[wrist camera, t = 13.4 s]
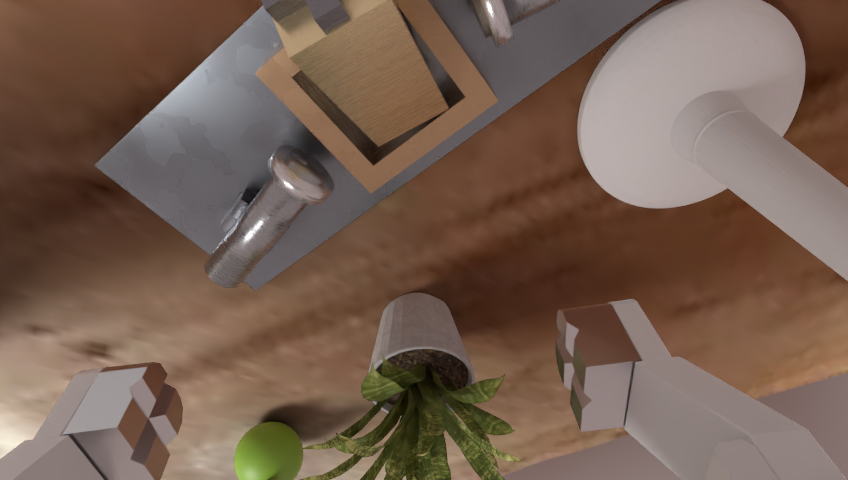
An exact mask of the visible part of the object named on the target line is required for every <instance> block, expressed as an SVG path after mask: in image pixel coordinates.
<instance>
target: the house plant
mask: <svg viewBox="0 0 848 480" xmlns="http://www.w3.org/2000/svg"><path fill="white" fill-rule="evenodd" d="M504 376H505V374H504V375H503V376H502V377H501V378H497V379H487V380H483V381H480V382H477V383H475V375H474V371H473V368H472V365H471V363H470V360H469V358H468V355H467V353H466V350H465V348H464V345H463V343H462V340H461V338H460V335H459V333H458V330H457V327H456V325H455V322H454V320H453V317H452V315H451V312H450V310H449V308H448V306H447V305H446V304H445V302H443V301H442V300H440V299H438V298H436V297H434V296H431V295H429V294H425V293H409V294H405V295H402V296H400V297H398V298H395V299H394V300H393V301H391V302H390V303H389V304H388V305H387V307H386V308H385V309H384V312H383V315H382V318H381V322H380V326H379V331H378V335H377V339H376V343H375V347H374V351H373V356H372V360H371V364H370V368H369V372H368V375H367V376H366V378H365V380H364V381H363V383H362V385H361V393H362V395H363V397H364V398H365V399H367V400H369V401H373V402H374V403H375V406H374V407H373V408H372V409H371V410H370V411H369V412H368V413H367V414H366V415H365V416H363V417H362V418H361V419H360V420H359V421H357V422H356V423H355V424H354V425H352V426H351V427H350V428H348V429H347V430H345V431H344V432H342V433H340V434H339V435H338V434H337V433H336V435H337V436H335V437H334V438H332V439H331V440H329V441H327V440H326V441H327V442H325V443H322V444H316V445H311V446H308V447H305V448H303V449H327V448H332V447H335V448H336V449H338V450H339V451H342V452H345V453H351V454H354V453H355V454H354V455H353V456H352V457H351V458H350V459H348V460H347V461H345V462H344V463H342V464H341V465H339V466H338V467H336V468H334V469H333V470H331V471H329V472H327V473H325V474H323V475H318V476H311V477H307V478H304V479H300V480H330V479H332V478H335V477H337V476H340V475H341V474H343V473H344V472H346V471H348V470H349V469H350V468H352V467H353V466H354V465H355V464H356V463H357V462H358V461H359V460H360V459H361V458H362V457H369V456H373V455H374V454H376V453H377V452H378V451H379V450H380V449H381V448H383V447H385V448H384V449H383V451H382V452H381V454H380V456H379V457H378V459H377V460H376V461H375V462H374V464H373V465H372V466H371V468H370V469H369V470H368V471H367V472H366V474H365V475H364V476H363V477H362V478H361V479H360V480H374V479H375V478H376V476H377V475H378V473H379V471H380V470H381V468H382V467H383V465H384V464H385V462H386V461H387V462H386V465H385V470H386V473H387V474H386V476H385V478H384V480H402V479H403V477H404V476H406V479H407V480H451V474H450V469H449V466H448V463H447V451H446V443H445V438H444V434H443V432H444V431H445V429H446V431H447V432H448V433H449V435H450V436H451V437H452V439H453V440H454V441H455V442H456V444H457V445H458V446H459V447H460V449H461V451H462V452H463V454H464V456H465V457H466V459H467V460H468V462H469V463H470V465H471V466H472V467H473V469H474V470H475V472H476V473H477V474H478V475H479V477H480V478H481V479H482V480H505V479H504V478H503V477H502V476H501V475H500V474H499V473H498V471H497V470H496V469H495V468H494V466H495V467H497V468H498V465H497V461H496V459H495V457H494V456H496V457H498V458H500V459H503V460H506V461H522V460H519V459H517V458H516V457H514V456H512V455H510V454H506V453H503V452H501V451H499V450H498V449H497V448H495V447H494V446H493V445H491V444H490V441H489V438H488V437H487V435H486V433H487V434H492V435H505V434H508V433H512V432H513V431H515V430H513V429H512V428H511V426H510V425H509V424H508V423H506V422H505V421H503V420H501V419H500V418H498V417H496V416H494V415H492V414H490V413H487V412H485V411H483V410H481V409H479V408H478V407H476V406H474V405H472V404H471V403H482V402H486V401H488V400H490V399H491V398H492V397H493V396H494V395H495V393H496V392H497V390H498V388H499V386H500V384H501V382H502V380H503V378H504ZM380 409H381V410H383V411H385V412H386V413H388V414H387V416H386V417H385V418H384V420H383V421H382V423H381V424H380V425H379V426H378V427H376V428H375V429H374V430H373V431H372V432H370V433H368V434H366V435H365V436H363V437H361V438H357V439H353V440H352V439H350V438H351V437H353V436H354V435H355V434H357V433H358V432H359V431H360V430H362V429H363V427H364V426H365V425H366V424H367V423H368V422H369V421H370V420H371V419H372V418H373V417H374V416H375V415H376V414H377V413H378V412H379V410H380ZM453 410H454V412H455V413H456V414H457V415H458V416H459V417H460V418H461V419H462V420H463V422H464V423H465V424H466V426H467V427H468V428H469V430H470V431H469V430H468V429H467V428H466V427H465V426H464V425H463V424H462V423H461V421H460V420H459V419H458V418H457V417H456V416H455V415H454V414H453V412H452V411H453ZM399 418H401V419H400V423H399V425H398V426H397V428H396V429H395V431H394V432H393V434H392V435H391V436H390V438H389V439H388V440H387V441H386V442H385V443H384V444H383V446H378V447H372V446H374V445H375V444H376V443H378V442H379V441H381V440H382V439H383V438H384V437H385V436H386V435H387V434H388V433H389V432H390V431H391V429H392V428H393V427H394V426H395V425H396V424H397V422H398V420H399ZM325 439H326V438H325ZM481 448H482V449H483V451H484V452H485V454H486V455H485V454H484V453H483V451H482V450H481ZM486 456H487V457H488V458H487V457H486ZM488 459H489V460H490V461H489V460H488ZM491 463H492V464H493V465H494V466H493V465H492V464H491ZM498 469H499V468H498Z"/></svg>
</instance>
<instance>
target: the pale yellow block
mask: <svg viewBox="0 0 848 480" xmlns="http://www.w3.org/2000/svg"><path fill="white" fill-rule="evenodd" d="M261 1H262V4H263V6H264V9H265V10H266V11H267V12H268V13H269V14H270V15H271V17H272V18H273V21H274V23H275V26H276V28H277V30H278V33H279V35H280V38H281V40H282V42H283V45H284V47H285V50H286V52H287V55H288V57H289V59H290V60H291V61H292V62H293V63H294V64H295V65H296V66H297V67H298V68H299V69H300V70H302V71H303V72H304V73H305V74H306V75H307V76H308V77H309V78H310V79H311V80H312V81H313V82H314V83H315V84H316V85H317V86H318V87H319V88H320V89H321V90H322V91H323V92H324V93H325V94H326V95H327V96H328V97H329V98H330V99H331V100H332V101H333V102H334V103H335V104H336V105H337V106H338V107H339V108H340V109H341V110H342V111H343V112H344V113H345V114H346V115H347V116H348V117H349V118H350V119H351V120H352V121H353V122H354V123H355V124H356V125H357V126H358V127H359V128H360V129H361V130H362V131H363V132H364V133H365V134H366V135H367V136H368V137H369V138H370V139H371V140H372V141H373V142H374V143H375V144H376V145H377V146H378V147H379V146H381V145H383V144H385V143H387V142H389V141H391V140H392V139H394V138H396V137H398V136H400V135H402V134H403V133H405V132H407V131H409V130H411V129H413V128H414V127H416V126H418V125H420V124H422V123H424V122H425V121H427V120H429V119H431V118H433V117H435V116H436V115H438V114H440V113H442V112H444V111H446V110H448V109H449V107H448V105H447V103H446V101H445V99H444V97H443V95H442V93H441V91H440V89H439V87H438V85H437V83H436V81H435V79H434V77H433V75H432V73H431V71H430V69H429V67H428V65H427V63H426V61H425V59H424V57H423V55H422V53H421V51H420V49H419V47H418V45H417V43H416V41H415V40H414V38H413V36H412V34H411V32H410V30H409V28H408V26H407V24H406V22H405V20H404V18H403V16H402V15H401V13H400V11H399V9H398V7H397V5H396V3H395V1H394V0H261Z"/></svg>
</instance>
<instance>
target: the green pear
mask: <svg viewBox="0 0 848 480" xmlns="http://www.w3.org/2000/svg"><path fill="white" fill-rule="evenodd" d="M302 461H303V447H302V443H301V440H300V438H299V436H298V435H297V433H296V432H295V431H294V430H293V429H292V428H291V427H289V426H287V425H285V424H283V423H280V422H265V423H261V424H259V425H257V426H255V427H253V428H252V429H250V430H249V431H248V432H247V433H246V434H245V435H244V436H243V437H242V439H241V440H240V442H239V443H238V446H237V448H236V451H235V456H234V467H235V471H236V474H237V476H238V478H239V480H294V478H295V477H296V476H297V474H298V472H299V470H300V468H301V465H302Z"/></svg>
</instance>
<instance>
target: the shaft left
mask: <svg viewBox="0 0 848 480" xmlns="http://www.w3.org/2000/svg"><path fill="white" fill-rule="evenodd" d="M268 169H269V172H270V174H271V177H270V178H269V180H268V181H267V182H266V184H265V185H264V186H263V188H262V189H261V190H260V191H259V193H258V194H257V195H256V194H254V193H252V192H251V191H249V190H247V189H245V190H244V191H243V193H242V194H241V195H240V197H239V198H238V199H237V201H236V202H235V203H234V205H233V206H232V207H231V209H230V210H229V211H228V213H227V214H226V215H225V217H224V219H223V221H222V223H221V226H220V228H222V229H224V230H226V231H227V232H228V233H227V234H226V236H225V237H224V238H223V240H222V241H221V242H220V243H219V245H218V246H217V247H216V249H215V250H214V251H213V253H212V254H211V255H210V256H209V258H208V259H207V260H206V262H205V271H206V273H207V275H208V276H209V277H210V279H211V280H213V281H214V282H215V283H217V284H218V285H220V286H223V287H226V288H236V287H238V286H239V285H241V283H242V282H243V281H244V280H245V279H246V277H247V276H248V275H249V274H250V273H251V271H252V270H253V269H254V268H255V267H256V265H257V264H258V263H259V262H260V261H261V259H262V258H263V257H264V256H265V255H266V254H268V253H269V252H270V251H271V250H272V248H273V247H274V246H275V245H276V244H277V242H278V241H279V240H280V239H281V238H282V236H283V235H284V234H285V233H286V232H287V230H288V229H289V227H290V225H291V223H292V222H293V221H294V220H295V219H296V217H297V216H298V215H299V214H300V213H301V211H302V210H303V209H304V208H305V207H306V205H307V204H311V205H320V204H322V203H323V202H324V201H325V200H326V199H327V198H328V197H329V196H330V194H331V193H332V192H333V191H334V182H333V179H332V177H331V175H330V174H329V172H328V171H327V170H326V169H325V167H324V166H323V165H322V164H321V163H320V162H319V161H318V160H317V159H316V158H314V157H313V156H312V155H310V154H308V153H306V152H305V151H303V150H301V149H299V148H296V147H293V146H289V145H282V146H280V147H278V148H277V149H276V151H275V152H274V153H273V155H272V156H271V157H270V159H269V160H268Z"/></svg>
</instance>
